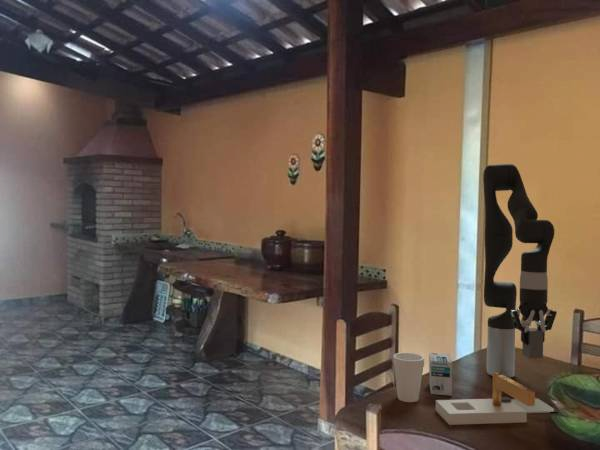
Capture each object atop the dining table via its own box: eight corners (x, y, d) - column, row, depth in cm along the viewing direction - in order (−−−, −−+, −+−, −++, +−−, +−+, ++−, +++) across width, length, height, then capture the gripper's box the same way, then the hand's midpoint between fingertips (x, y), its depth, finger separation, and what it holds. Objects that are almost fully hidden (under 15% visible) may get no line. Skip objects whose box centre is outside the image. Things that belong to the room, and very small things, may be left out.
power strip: (435, 410, 144) (435, 397, 144) (507, 408, 146) (508, 395, 146) (449, 424, 134) (449, 410, 134) (526, 422, 136) (526, 408, 136)
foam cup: (405, 406, 147) (406, 362, 147) (386, 396, 155) (387, 354, 155) (430, 400, 152) (430, 358, 151) (410, 391, 160) (410, 351, 160)
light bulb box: (452, 396, 156) (452, 362, 156) (430, 394, 157) (430, 360, 157) (449, 385, 166) (449, 353, 166) (428, 383, 168) (428, 351, 167)
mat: (507, 400, 152) (507, 399, 152) (537, 399, 153) (537, 398, 153) (524, 413, 142) (524, 412, 142) (557, 412, 143) (557, 411, 143)
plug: (522, 354, 149) (523, 328, 149) (535, 354, 150) (535, 328, 150) (529, 358, 145) (530, 331, 145) (542, 358, 146) (543, 331, 146)
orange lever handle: (526, 426, 126) (527, 392, 125) (490, 403, 141) (491, 372, 141) (535, 426, 126) (535, 391, 126) (498, 402, 142) (498, 372, 142)
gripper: (548, 284, 152) (547, 340, 152) (504, 285, 150) (503, 341, 151) (563, 288, 144) (562, 347, 145) (517, 288, 143) (516, 347, 143)
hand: (532, 343), depth 148 cm, fingers closed on plug, 4 cm apart
